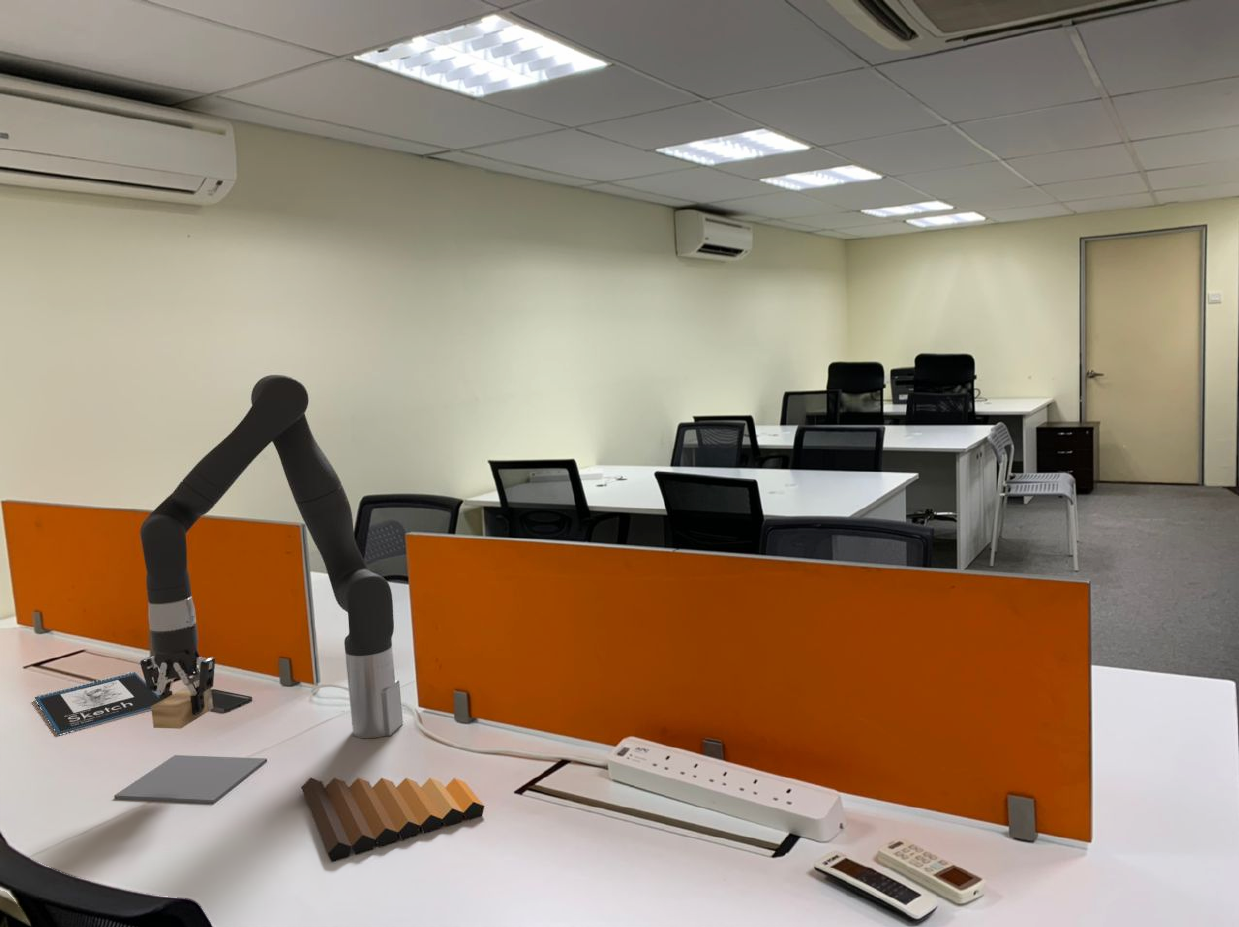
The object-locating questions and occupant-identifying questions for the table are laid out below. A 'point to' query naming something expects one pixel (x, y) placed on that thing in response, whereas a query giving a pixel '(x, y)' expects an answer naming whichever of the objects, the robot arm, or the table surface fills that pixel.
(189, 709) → the block
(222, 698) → the phone
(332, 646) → the table surface
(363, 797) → the ridged wooden panel
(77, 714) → the sketchbook
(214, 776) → the mat
